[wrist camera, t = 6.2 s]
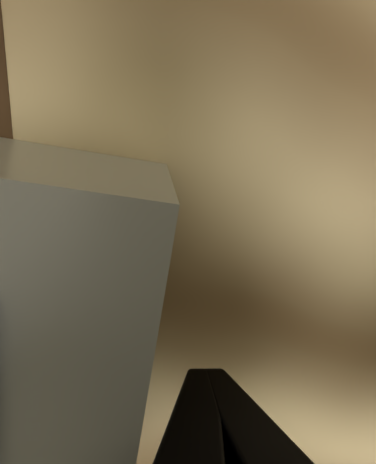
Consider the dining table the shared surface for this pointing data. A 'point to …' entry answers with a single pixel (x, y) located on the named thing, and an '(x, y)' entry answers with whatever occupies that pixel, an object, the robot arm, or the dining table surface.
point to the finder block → (79, 300)
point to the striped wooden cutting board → (232, 186)
